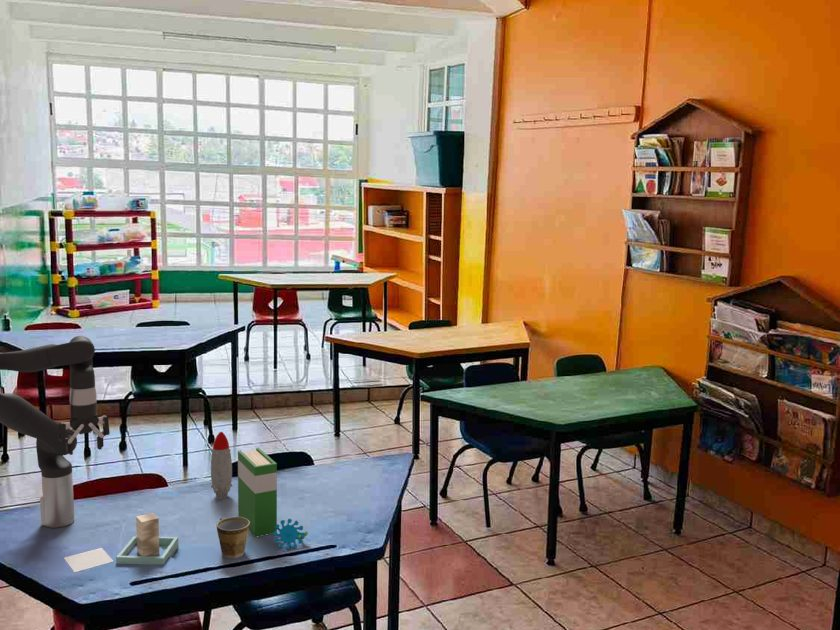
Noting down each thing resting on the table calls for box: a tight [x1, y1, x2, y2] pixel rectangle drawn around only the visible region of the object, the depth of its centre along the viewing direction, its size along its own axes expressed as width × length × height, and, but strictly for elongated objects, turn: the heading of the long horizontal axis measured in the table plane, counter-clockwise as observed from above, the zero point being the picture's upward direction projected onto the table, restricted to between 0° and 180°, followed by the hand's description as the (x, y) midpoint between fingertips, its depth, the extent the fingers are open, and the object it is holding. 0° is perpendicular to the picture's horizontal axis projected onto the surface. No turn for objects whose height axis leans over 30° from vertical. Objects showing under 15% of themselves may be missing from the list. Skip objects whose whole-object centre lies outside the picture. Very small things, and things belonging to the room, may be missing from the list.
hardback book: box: [237, 447, 278, 538], centre depth 249 cm, size 18×7×24 cm, turn 31°
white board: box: [63, 547, 114, 573], centre depth 221 cm, size 11×11×2 cm
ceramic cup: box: [216, 516, 250, 559], centre depth 231 cm, size 13×10×10 cm
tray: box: [115, 535, 179, 566], centre depth 226 cm, size 14×14×4 cm
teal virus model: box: [272, 518, 309, 551], centre depth 238 cm, size 11×6×10 cm
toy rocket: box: [210, 431, 233, 500], centre depth 272 cm, size 8×8×25 cm
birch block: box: [135, 512, 160, 556], centre depth 225 cm, size 5×5×12 cm
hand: (85, 451), depth 230 cm, fingers open, 8 cm apart
